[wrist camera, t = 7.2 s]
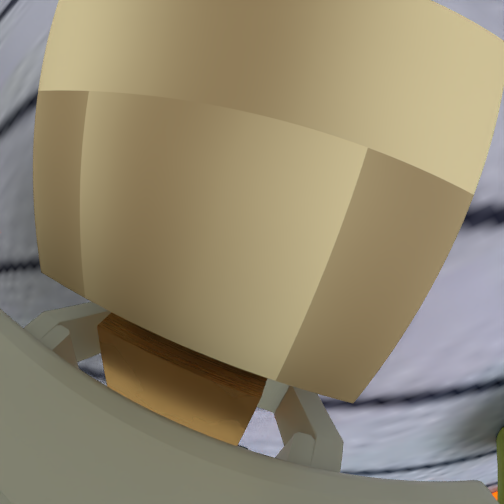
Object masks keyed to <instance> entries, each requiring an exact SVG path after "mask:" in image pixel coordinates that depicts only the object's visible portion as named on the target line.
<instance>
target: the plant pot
mask: <svg viewBox="0 0 504 504" xmlns="http://www.w3.org/2000/svg"><path fill="white" fill-rule="evenodd" d="M496 444H497V462H498V494H497V501H498V502H499V504H504V427H503V428H502V429H501V430H500V432H499V434H498V436H497V439H496Z"/></svg>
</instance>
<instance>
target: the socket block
mask: <svg viewBox="0 0 504 504" xmlns="http://www.w3.org/2000/svg"><path fill="white" fill-rule="evenodd" d="M503 87H504V41H503V40H502V39H500V38H499V37H497V36H496V35H494V34H493V33H491V32H489V31H488V30H486V29H484V28H483V27H481V26H479V25H478V24H476V23H474V22H473V21H471V20H469V19H467V18H465V17H464V16H462V15H460V14H458V13H456V12H454V11H452V10H450V9H448V8H446V7H444V6H442V5H440V4H438V3H436V2H433V1H431V0H59V2H58V5H57V8H56V11H55V15H54V18H53V22H52V25H51V29H50V33H49V37H48V41H47V46H46V50H45V55H44V60H43V65H42V71H41V77H40V83H39V90H38V97H37V106H36V116H35V128H34V146H33V195H34V213H35V226H36V236H37V245H38V253H39V260H40V267H41V272H42V273H43V274H45V275H47V276H48V277H50V278H52V279H53V280H55V281H57V282H58V283H60V284H62V285H63V286H65V287H67V288H68V289H70V290H72V291H74V292H75V293H77V294H79V295H81V296H82V297H84V298H86V299H88V300H90V301H92V302H93V303H95V304H97V305H99V306H101V307H103V308H105V309H106V310H108V311H110V312H112V313H114V314H116V315H118V316H120V317H122V318H124V319H126V320H128V321H130V322H132V323H134V324H136V325H138V326H140V327H142V328H145V329H147V330H149V331H151V332H153V333H155V334H157V335H160V336H162V337H164V338H166V339H168V340H171V341H173V342H175V343H178V344H180V345H182V346H184V347H187V348H189V349H192V350H194V351H196V352H199V353H201V354H204V355H206V356H209V357H211V358H214V359H216V360H219V361H221V362H224V363H227V364H229V365H232V366H235V367H237V368H240V369H243V370H245V371H248V372H251V373H254V374H257V375H260V376H263V377H265V378H268V379H271V380H274V381H278V382H281V383H284V384H287V385H290V386H293V387H296V388H300V389H303V390H306V391H310V392H313V393H317V394H320V395H324V396H328V397H331V398H335V399H339V400H343V401H347V402H351V403H354V402H355V400H356V399H357V398H358V397H359V395H360V394H361V393H362V392H363V390H364V389H365V388H366V386H367V385H368V384H369V382H370V381H371V380H372V378H373V377H374V376H375V374H376V373H377V372H378V370H379V369H380V368H381V366H382V365H383V363H384V362H385V361H386V359H387V358H388V356H389V355H390V353H391V352H392V351H393V349H394V348H395V346H396V345H397V343H398V342H399V340H400V339H401V337H402V335H403V334H404V332H405V331H406V329H407V328H408V326H409V324H410V323H411V321H412V320H413V318H414V316H415V315H416V313H417V311H418V310H419V308H420V306H421V305H422V303H423V301H424V299H425V298H426V296H427V294H428V292H429V290H430V289H431V287H432V285H433V283H434V281H435V279H436V278H437V276H438V274H439V272H440V270H441V268H442V266H443V264H444V262H445V260H446V258H447V256H448V254H449V252H450V250H451V248H452V245H453V243H454V241H455V239H456V237H457V234H458V232H459V230H460V228H461V225H462V223H463V221H464V218H465V216H466V213H467V211H468V208H469V206H470V203H471V201H472V198H473V196H474V193H475V190H476V187H477V185H478V182H479V179H480V176H481V173H482V170H483V167H484V164H485V161H486V157H487V154H488V151H489V147H490V144H491V140H492V137H493V133H494V129H495V125H496V121H497V117H498V112H499V108H500V103H501V98H502V93H503Z"/></svg>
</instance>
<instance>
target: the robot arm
mask: <svg viewBox="0 0 504 504" xmlns="http://www.w3.org/2000/svg"><path fill="white" fill-rule="evenodd" d="M110 313H111V312H110V311H108V310H106V309H105V308H103V307H101V306H99V305H97V304H95V303H93V302H89V303H84V304H79V305H74V306H69V307H64V308H59V309H54V310H49V311H44V312H43V313H41V314H40V315H39V316H38V317H36V318H35V319H34V320H33V321H31V322H30V323H29V324H28V325H27V326H25V327H24V328H22V327H21V326H20V325H19V324H18V323H16V322H15V321H14V320H13V319H12V318H11V317H9V316H8V315H7V314H6V313H5V312H4V311H3V310H1V309H0V504H499V502H498V501H497V500H496V498H495V497H494V496H493V494H492V493H491V492H490V491H489V489H488V488H487V487H486V486H485V485H484V484H483V483H482V482H480V481H478V480H467V481H408V480H393V479H382V478H373V477H365V476H358V475H351V474H345V473H340V469H341V461H342V452H343V440H342V438H341V436H340V435H339V433H338V431H337V429H336V427H335V425H334V424H333V422H332V420H331V418H330V416H329V414H328V413H327V411H326V409H325V407H324V405H323V403H322V401H321V400H320V398H319V396H318V394H317V393H313V392H310V391H306V390H303V389H300V388H296V387H293V386H290V385H287V384H284V383H281V382H278V381H274V380H271V379H268V378H267V381H266V384H265V387H264V390H263V393H262V396H261V399H260V401H259V403H258V405H257V407H259V408H262V409H265V410H268V411H270V412H273V413H274V415H275V418H276V421H277V425H278V428H279V431H280V434H281V437H282V440H283V443H284V448H283V449H282V450H281V451H280V452H279V454H278V455H277V456H276V457H275V458H273V457H270V456H266V455H263V454H260V453H256V452H253V451H250V450H247V449H244V448H241V447H238V446H235V445H232V444H229V443H226V442H224V441H221V440H218V439H216V438H213V437H210V436H208V435H205V434H203V433H200V432H198V431H195V430H193V429H191V428H188V427H186V426H184V425H181V424H179V423H177V422H175V421H172V420H170V419H168V418H166V417H164V416H162V415H160V414H158V413H156V412H153V411H151V410H149V409H147V408H145V407H143V406H142V405H140V404H138V403H136V402H134V401H132V400H130V399H128V398H126V397H125V396H123V395H121V394H119V393H118V392H116V391H114V390H112V389H111V388H109V387H107V386H105V385H104V384H102V383H100V382H99V381H97V380H96V379H94V378H92V377H91V376H89V375H88V374H86V373H84V372H83V371H81V370H80V369H79V368H78V364H77V362H79V361H82V360H84V359H87V358H89V357H92V356H94V355H97V354H99V353H101V350H100V343H99V337H98V330H97V325H98V324H100V323H101V322H102V321H103V320H104V319H105V318H106V317H107V316H108V315H109V314H110Z"/></svg>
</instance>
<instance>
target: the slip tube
mask: <svg viewBox="0 0 504 504" xmlns="http://www.w3.org/2000/svg"><path fill="white" fill-rule="evenodd" d="M97 330H98V337H99V343H100V350H101V356H102V361H103V367H104V372H105V377H106V382H107V386H108V387H109V388H111V389H112V390H114V391H116V392H118V393H119V394H121V395H123V396H125V397H126V398H128V399H130V400H132V401H134V402H136V403H138V404H140V405H142V406H143V407H145V408H147V409H149V410H151V411H153V412H156V413H158V414H160V415H162V416H164V417H166V418H168V419H170V420H172V421H175V422H177V423H179V424H181V425H184V426H186V427H188V428H191V429H193V430H195V431H198V432H200V433H203V434H205V435H208V436H210V437H213V438H216V439H218V440H221V441H224V442H226V443H229V444H232V445H235V446H237V445H238V443H239V441H240V439H241V437H242V435H243V433H244V431H245V429H246V427H247V425H248V423H249V421H250V419H251V417H252V415H253V413H254V411H255V409H256V407H257V405H258V403H259V401H260V399H261V396H262V393H263V390H264V387H265V384H266V381H267V378H265V377H263V376H260V375H257V374H254V373H251V372H248V371H245V370H243V369H240V368H237V367H235V366H232V365H229V364H227V363H224V362H221V361H219V360H216V359H214V358H211V357H209V356H206V355H204V354H201V353H199V352H196V351H194V350H192V349H189V348H187V347H184V346H182V345H180V344H178V343H175V342H173V341H171V340H168V339H166V338H164V337H162V336H160V335H157V334H155V333H153V332H151V331H149V330H147V329H145V328H142V327H140V326H138V325H136V324H134V323H132V322H130V321H128V320H126V319H124V318H122V317H120V316H118V315H116V314H114V313H112V312H111V313H110V314H109V315H108V316H107V317H106V318H105V319H104V320H103V321H102V322H101V323H100V324H98V325H97Z"/></svg>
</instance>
